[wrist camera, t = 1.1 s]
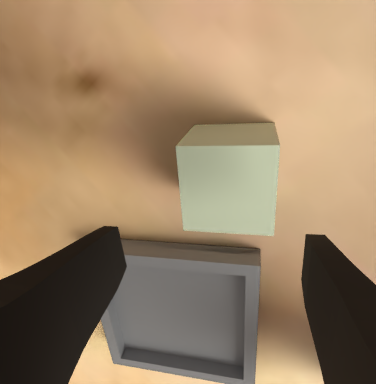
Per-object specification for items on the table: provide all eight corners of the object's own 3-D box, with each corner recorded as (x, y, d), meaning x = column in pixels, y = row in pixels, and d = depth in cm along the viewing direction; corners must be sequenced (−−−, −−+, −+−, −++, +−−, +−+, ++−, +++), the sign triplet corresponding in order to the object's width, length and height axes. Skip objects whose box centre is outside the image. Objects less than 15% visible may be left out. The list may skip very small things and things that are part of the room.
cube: (274, 122, 17) (279, 145, 13) (270, 195, 20) (273, 235, 15) (194, 124, 19) (175, 146, 14) (199, 192, 21) (183, 230, 16)
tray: (260, 249, 21) (260, 266, 20) (254, 367, 27) (254, 388, 26) (94, 237, 25) (81, 251, 23) (121, 345, 30) (113, 363, 29)
